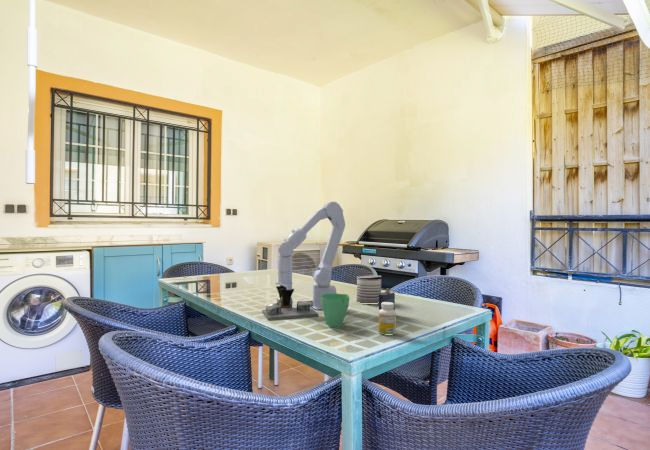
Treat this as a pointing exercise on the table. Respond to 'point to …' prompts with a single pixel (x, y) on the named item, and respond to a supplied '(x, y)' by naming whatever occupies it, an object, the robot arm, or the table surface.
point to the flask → (387, 298)
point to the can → (368, 289)
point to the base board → (290, 314)
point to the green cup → (335, 308)
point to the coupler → (279, 300)
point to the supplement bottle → (387, 318)
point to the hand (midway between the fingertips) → (284, 304)
